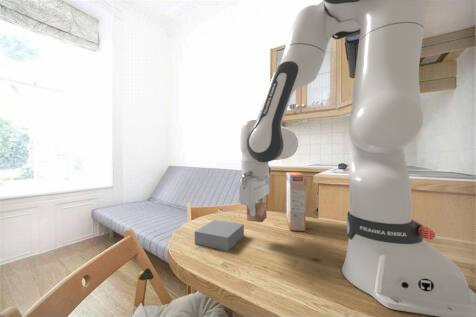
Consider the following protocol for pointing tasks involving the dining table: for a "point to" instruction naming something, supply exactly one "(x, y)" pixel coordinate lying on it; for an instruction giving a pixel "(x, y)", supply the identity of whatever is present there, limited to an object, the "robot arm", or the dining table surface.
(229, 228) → the base
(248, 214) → the cube
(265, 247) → the dining table surface
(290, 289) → the dining table surface
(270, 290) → the dining table surface
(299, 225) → the cracker box
